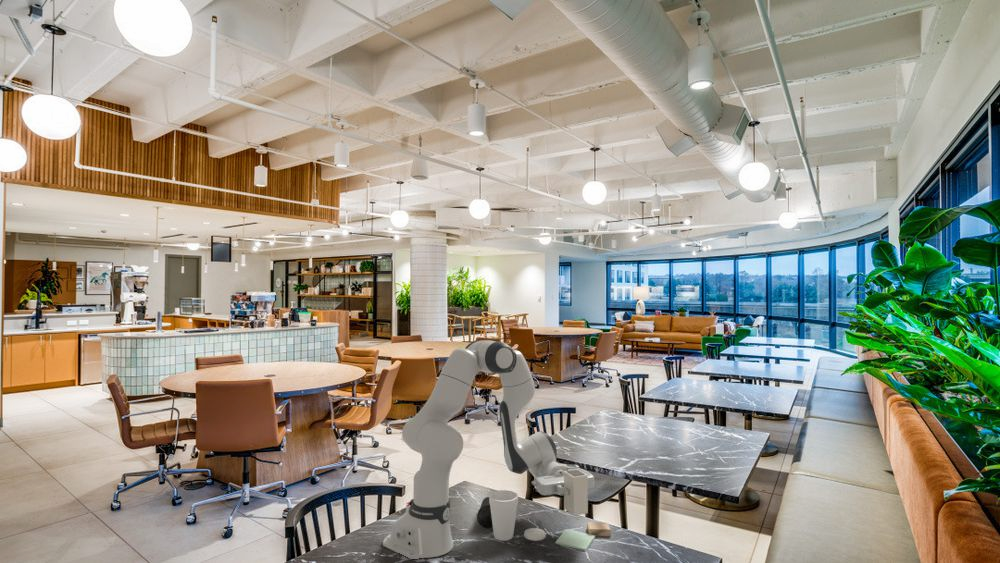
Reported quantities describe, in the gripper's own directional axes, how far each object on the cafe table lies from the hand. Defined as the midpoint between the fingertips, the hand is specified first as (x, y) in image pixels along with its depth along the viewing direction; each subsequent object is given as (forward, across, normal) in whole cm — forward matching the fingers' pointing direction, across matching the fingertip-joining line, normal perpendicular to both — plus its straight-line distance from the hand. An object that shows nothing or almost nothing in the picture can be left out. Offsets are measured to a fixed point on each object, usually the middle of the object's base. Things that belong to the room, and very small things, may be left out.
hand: (577, 491), depth 161 cm
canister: (-1, 0, +6) cm, 7 cm away
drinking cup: (-33, -18, +13) cm, 40 cm away
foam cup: (-12, -20, +16) cm, 29 cm away
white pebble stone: (-9, -11, +16) cm, 21 cm away
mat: (-1, 0, +16) cm, 16 cm away
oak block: (-3, +10, +16) cm, 19 cm away
